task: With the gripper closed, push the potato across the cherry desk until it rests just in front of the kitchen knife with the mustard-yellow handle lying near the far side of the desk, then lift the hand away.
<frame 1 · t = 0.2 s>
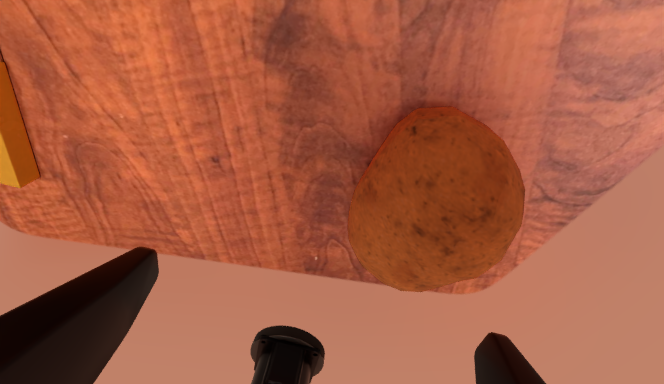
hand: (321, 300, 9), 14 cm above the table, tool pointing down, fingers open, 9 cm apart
potato: (422, 180, 23), on the table
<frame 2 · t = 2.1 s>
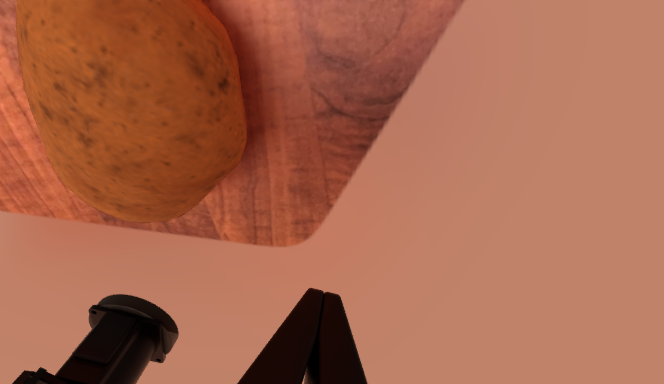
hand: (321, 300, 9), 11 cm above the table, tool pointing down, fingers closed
potato: (186, 91, 18), on the table
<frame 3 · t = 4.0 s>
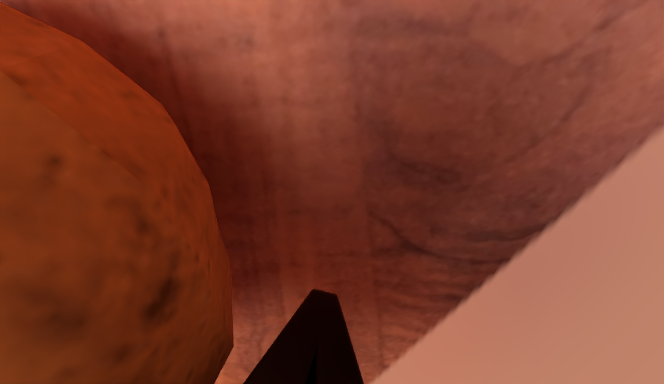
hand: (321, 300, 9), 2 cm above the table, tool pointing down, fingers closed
potato: (125, 204, 10), on the table, touching gripper
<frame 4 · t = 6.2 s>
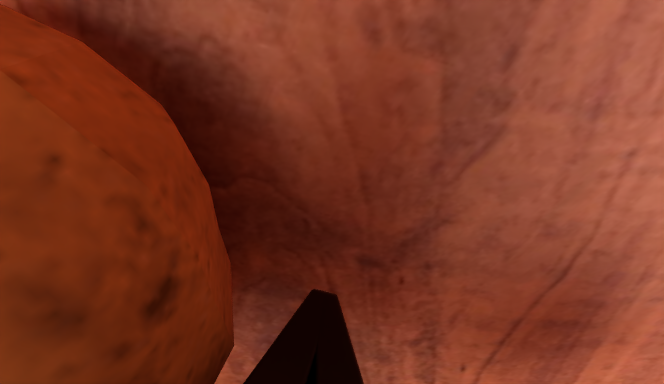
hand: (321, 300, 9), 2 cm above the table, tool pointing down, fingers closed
potato: (126, 205, 10), on the table, touching gripper
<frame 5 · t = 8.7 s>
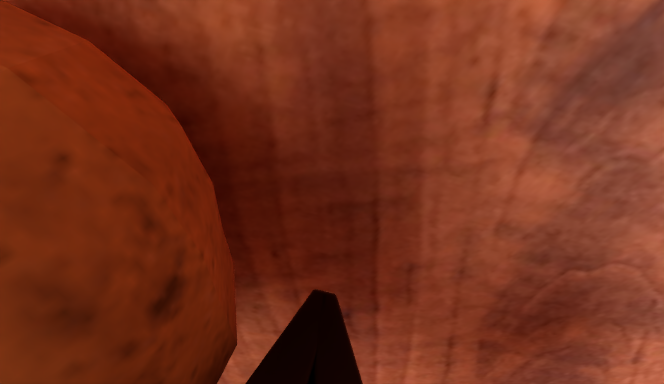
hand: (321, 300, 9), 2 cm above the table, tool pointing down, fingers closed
potato: (128, 203, 10), on the table, touching gripper
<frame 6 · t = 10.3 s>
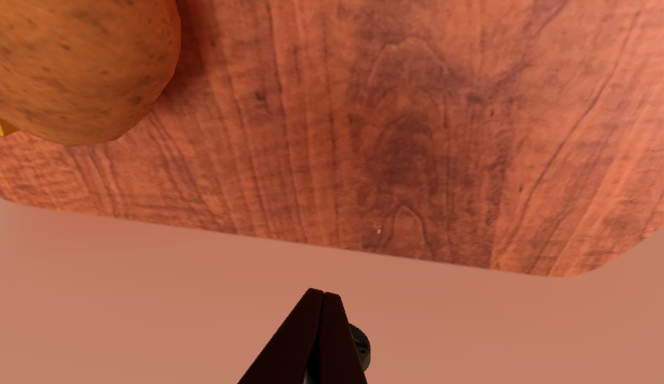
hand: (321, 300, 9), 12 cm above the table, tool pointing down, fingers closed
potato: (121, 7, 17), on the table
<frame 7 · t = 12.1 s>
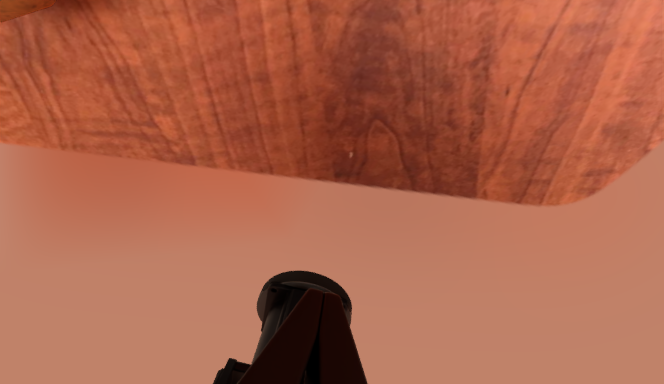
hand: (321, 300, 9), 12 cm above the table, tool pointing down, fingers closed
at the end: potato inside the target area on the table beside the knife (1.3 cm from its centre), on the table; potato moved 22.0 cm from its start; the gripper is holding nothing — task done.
